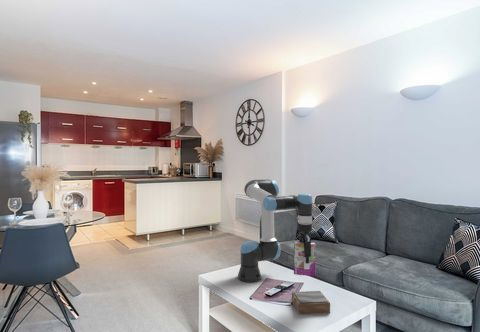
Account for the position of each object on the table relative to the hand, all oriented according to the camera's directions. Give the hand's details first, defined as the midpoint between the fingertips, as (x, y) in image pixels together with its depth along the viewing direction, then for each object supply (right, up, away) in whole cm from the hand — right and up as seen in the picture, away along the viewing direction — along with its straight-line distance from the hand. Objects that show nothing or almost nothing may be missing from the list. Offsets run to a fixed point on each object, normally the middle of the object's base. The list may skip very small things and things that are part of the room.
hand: (304, 266), depth 158 cm
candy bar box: (0, -4, 0) cm, 4 cm away
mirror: (+3, -21, 0) cm, 21 cm away
